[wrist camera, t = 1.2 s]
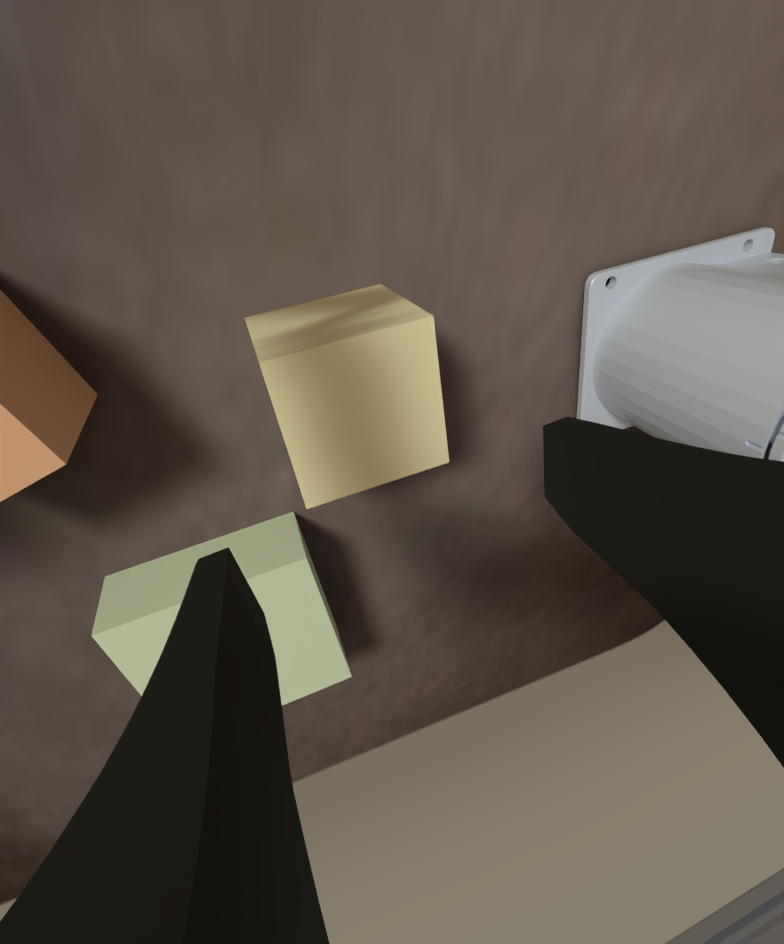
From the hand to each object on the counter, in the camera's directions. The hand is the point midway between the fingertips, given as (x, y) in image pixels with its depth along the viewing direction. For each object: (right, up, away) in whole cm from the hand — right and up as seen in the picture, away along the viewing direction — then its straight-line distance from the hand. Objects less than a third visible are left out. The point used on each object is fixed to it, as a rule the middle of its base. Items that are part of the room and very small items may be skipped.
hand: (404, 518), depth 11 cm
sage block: (-8, -5, +13) cm, 16 cm away
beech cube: (-3, +5, +8) cm, 10 cm away
